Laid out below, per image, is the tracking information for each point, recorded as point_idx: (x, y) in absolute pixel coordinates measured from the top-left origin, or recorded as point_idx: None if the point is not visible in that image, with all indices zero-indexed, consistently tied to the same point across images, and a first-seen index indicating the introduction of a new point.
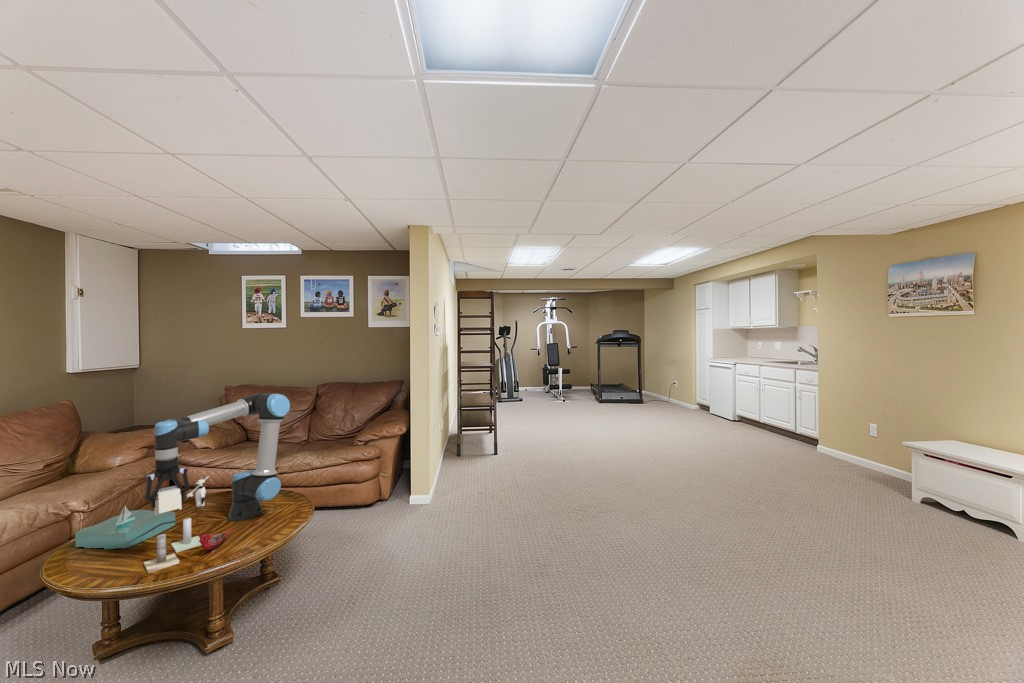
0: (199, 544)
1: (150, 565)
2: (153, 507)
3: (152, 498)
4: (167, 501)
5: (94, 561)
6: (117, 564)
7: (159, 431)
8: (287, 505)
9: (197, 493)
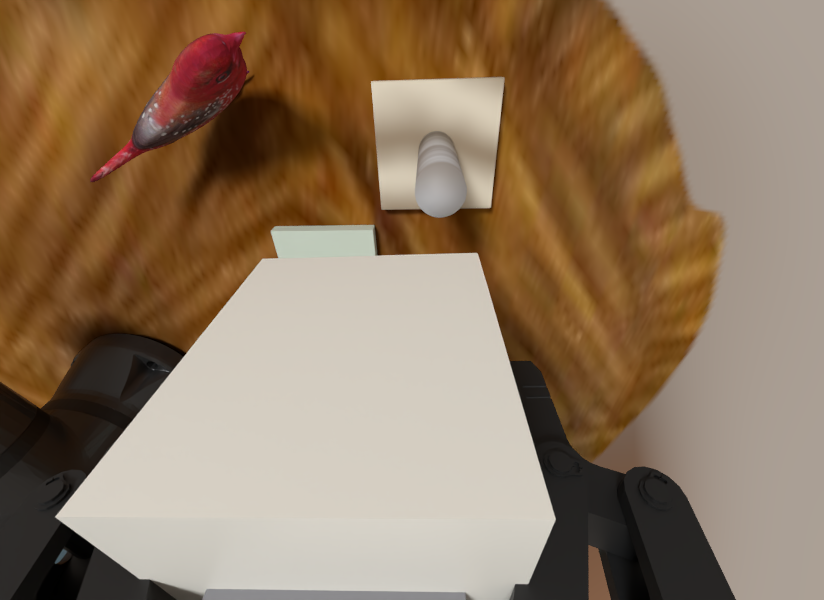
0: (287, 229)
1: (481, 140)
2: (519, 365)
3: (578, 481)
4: (378, 339)
5: (580, 355)
6: (547, 283)
7: None
8: (7, 367)
9: None
